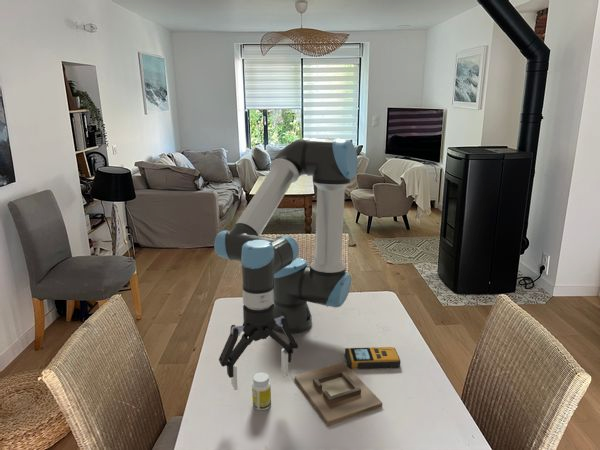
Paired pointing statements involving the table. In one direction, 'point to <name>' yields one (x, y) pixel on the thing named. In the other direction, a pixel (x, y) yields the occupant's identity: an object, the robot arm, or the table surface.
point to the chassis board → (337, 393)
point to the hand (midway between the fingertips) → (260, 380)
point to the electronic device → (372, 358)
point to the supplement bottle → (261, 391)
